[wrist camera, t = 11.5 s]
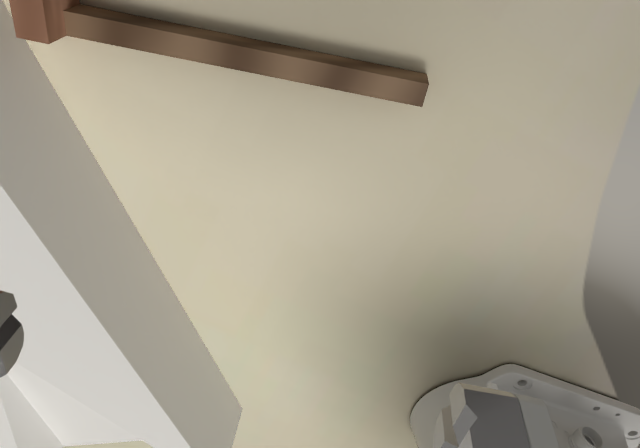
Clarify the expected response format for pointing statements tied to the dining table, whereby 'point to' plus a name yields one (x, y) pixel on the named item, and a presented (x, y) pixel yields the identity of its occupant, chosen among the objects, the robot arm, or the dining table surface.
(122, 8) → the dining table surface
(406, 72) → the guide channel
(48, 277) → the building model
